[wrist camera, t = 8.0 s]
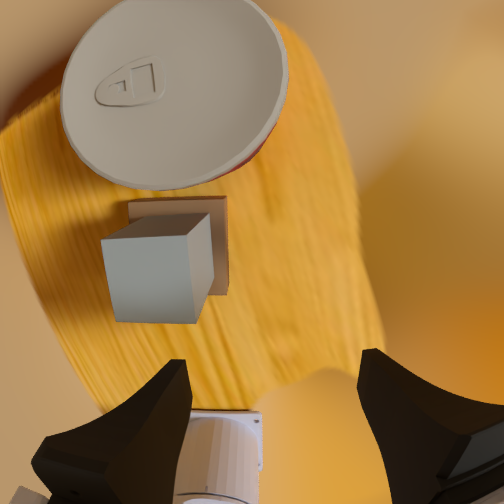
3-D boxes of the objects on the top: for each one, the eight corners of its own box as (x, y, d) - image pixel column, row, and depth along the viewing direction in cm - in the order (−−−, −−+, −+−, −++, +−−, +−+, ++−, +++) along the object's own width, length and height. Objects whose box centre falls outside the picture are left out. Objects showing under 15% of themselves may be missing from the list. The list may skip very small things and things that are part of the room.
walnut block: (229, 281, 22) (226, 295, 20) (148, 280, 22) (137, 293, 20) (227, 195, 21) (224, 199, 18) (141, 197, 21) (127, 202, 18)
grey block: (214, 277, 20) (196, 323, 14) (153, 278, 20) (116, 321, 14) (209, 212, 18) (186, 235, 13) (145, 216, 19) (100, 239, 13)
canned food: (133, 99, 19) (37, 57, 8) (240, 46, 18) (230, -49, 7) (178, 198, 20) (106, 235, 10) (290, 146, 20) (332, 128, 9)
